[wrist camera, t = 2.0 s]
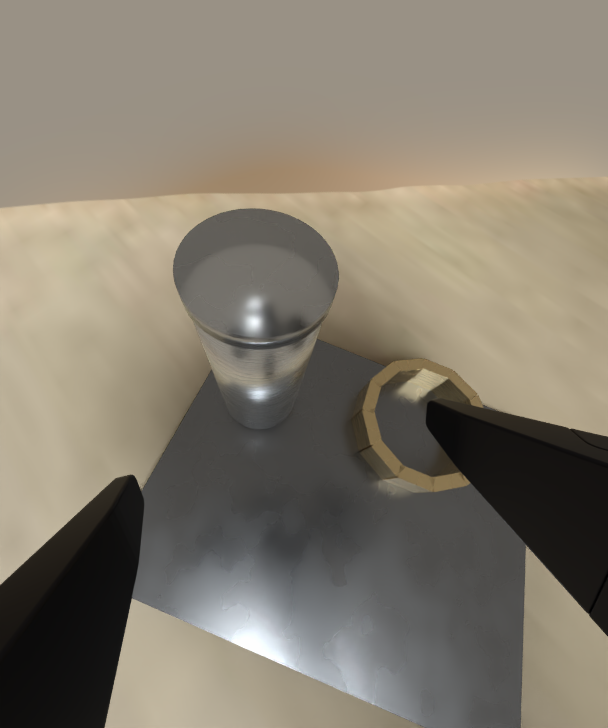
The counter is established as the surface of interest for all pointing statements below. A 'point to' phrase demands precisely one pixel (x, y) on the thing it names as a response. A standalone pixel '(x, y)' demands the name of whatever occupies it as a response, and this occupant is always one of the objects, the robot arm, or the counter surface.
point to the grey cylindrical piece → (256, 305)
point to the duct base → (344, 544)
